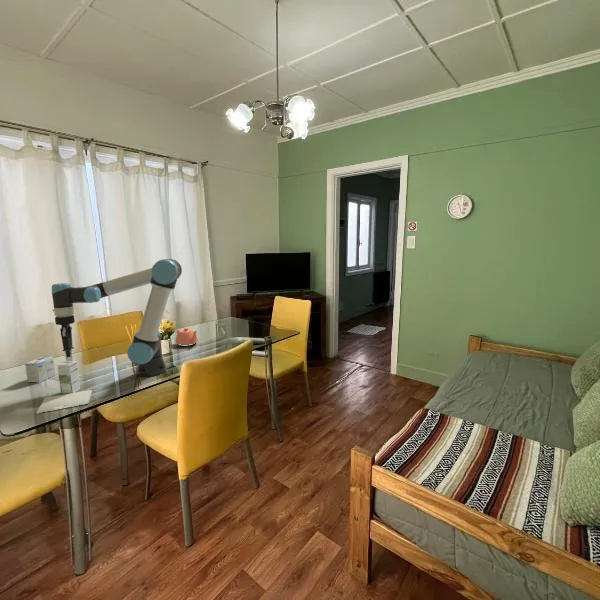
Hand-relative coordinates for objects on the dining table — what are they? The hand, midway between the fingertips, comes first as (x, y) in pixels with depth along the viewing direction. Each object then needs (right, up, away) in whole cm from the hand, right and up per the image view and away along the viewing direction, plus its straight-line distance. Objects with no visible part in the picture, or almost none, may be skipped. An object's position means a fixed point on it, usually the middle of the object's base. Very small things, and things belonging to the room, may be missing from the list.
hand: (69, 362), depth 158 cm
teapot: (+32, -2, +73) cm, 80 cm away
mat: (+9, -15, -14) cm, 22 cm away
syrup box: (+3, -13, -4) cm, 14 cm away
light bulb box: (-23, -11, +12) cm, 28 cm away
